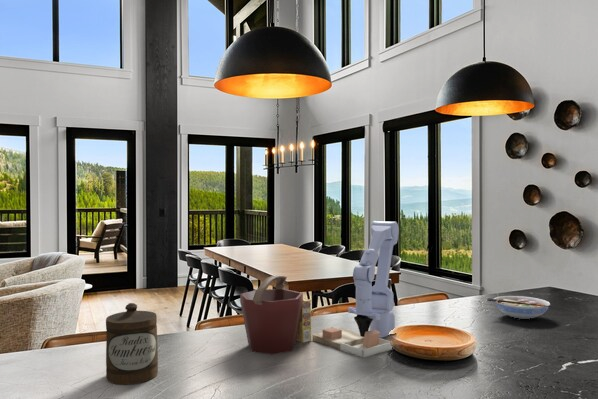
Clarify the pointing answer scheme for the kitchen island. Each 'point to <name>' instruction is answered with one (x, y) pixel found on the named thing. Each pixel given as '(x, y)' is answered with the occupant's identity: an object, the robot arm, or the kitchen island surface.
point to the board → (340, 338)
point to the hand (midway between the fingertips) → (363, 336)
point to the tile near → (371, 338)
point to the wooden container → (131, 346)
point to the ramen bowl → (521, 306)
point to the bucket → (271, 316)
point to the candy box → (304, 322)
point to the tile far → (332, 333)
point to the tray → (364, 351)
